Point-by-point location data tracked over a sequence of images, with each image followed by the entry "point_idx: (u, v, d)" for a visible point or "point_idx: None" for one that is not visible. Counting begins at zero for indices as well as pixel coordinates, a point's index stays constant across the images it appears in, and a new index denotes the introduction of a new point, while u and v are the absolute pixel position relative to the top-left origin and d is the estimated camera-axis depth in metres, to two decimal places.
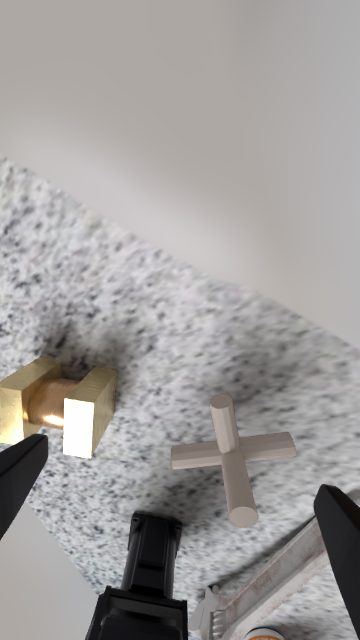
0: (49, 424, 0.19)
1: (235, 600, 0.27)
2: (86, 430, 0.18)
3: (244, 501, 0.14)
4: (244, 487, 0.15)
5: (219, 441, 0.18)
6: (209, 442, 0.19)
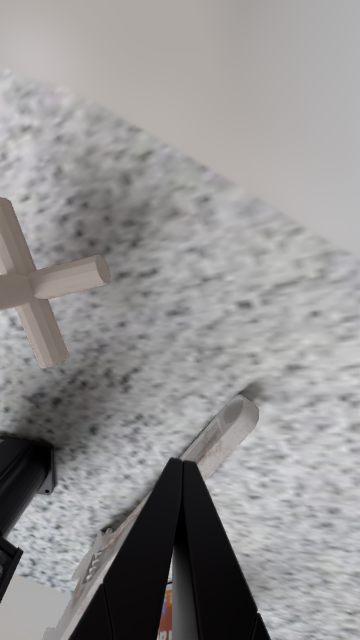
0: None
1: (117, 536, 0.22)
2: None
3: None
4: None
5: None
6: None
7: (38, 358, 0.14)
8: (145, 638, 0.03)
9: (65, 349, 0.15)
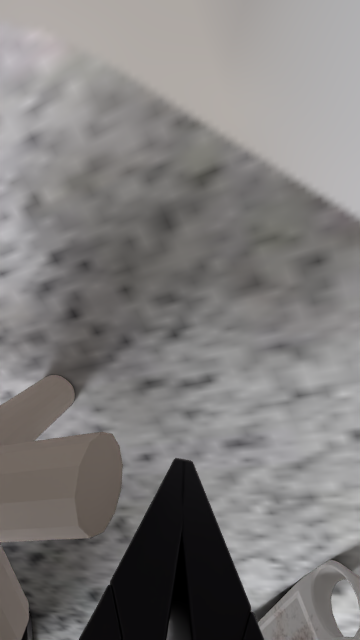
0: None
1: None
2: None
3: None
4: None
5: None
6: None
7: None
8: None
9: (17, 615, 0.06)
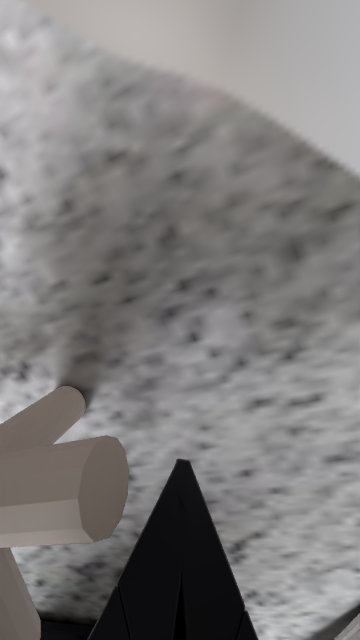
0: None
1: None
2: None
3: None
4: None
5: None
6: None
7: None
8: None
9: (28, 631, 0.06)
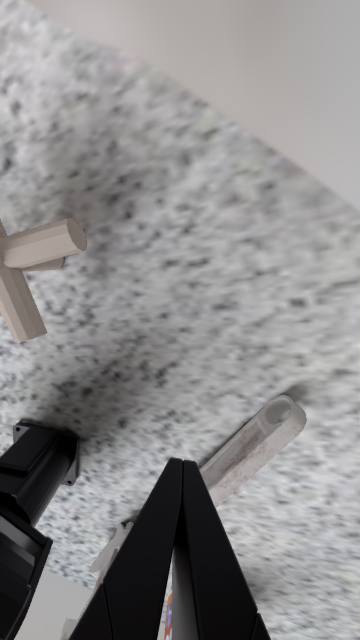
0: None
1: None
2: None
3: None
4: None
5: None
6: None
7: (11, 332, 0.13)
8: (145, 638, 0.03)
9: (42, 324, 0.14)
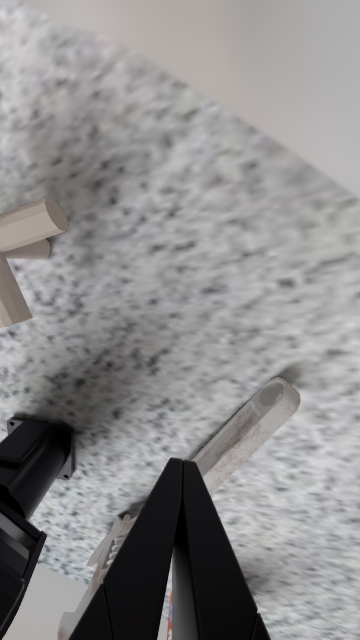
0: None
1: None
2: None
3: None
4: None
5: None
6: None
7: None
8: (145, 638, 0.03)
9: (26, 309, 0.14)
